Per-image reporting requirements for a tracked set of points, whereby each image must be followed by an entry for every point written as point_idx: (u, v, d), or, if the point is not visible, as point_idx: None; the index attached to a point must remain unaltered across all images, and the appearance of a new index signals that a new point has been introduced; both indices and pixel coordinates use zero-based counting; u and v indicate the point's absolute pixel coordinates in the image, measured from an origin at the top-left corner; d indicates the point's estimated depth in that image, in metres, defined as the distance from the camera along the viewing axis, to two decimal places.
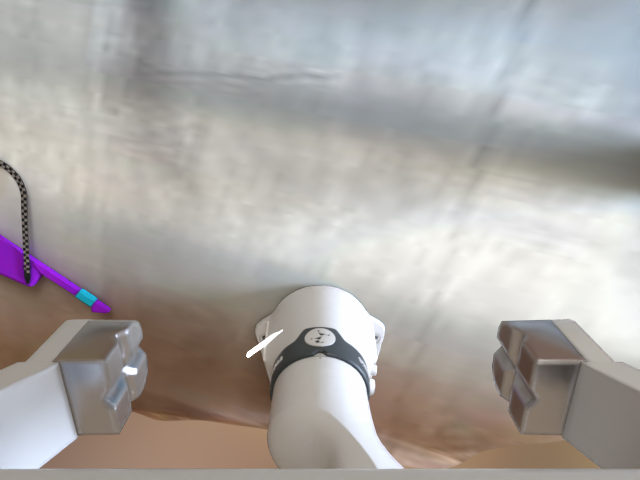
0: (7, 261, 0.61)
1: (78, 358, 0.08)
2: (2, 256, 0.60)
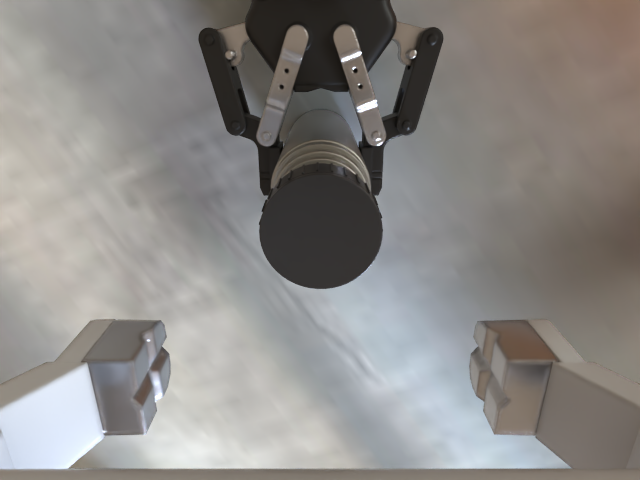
0: None
1: (106, 358, 0.08)
2: None
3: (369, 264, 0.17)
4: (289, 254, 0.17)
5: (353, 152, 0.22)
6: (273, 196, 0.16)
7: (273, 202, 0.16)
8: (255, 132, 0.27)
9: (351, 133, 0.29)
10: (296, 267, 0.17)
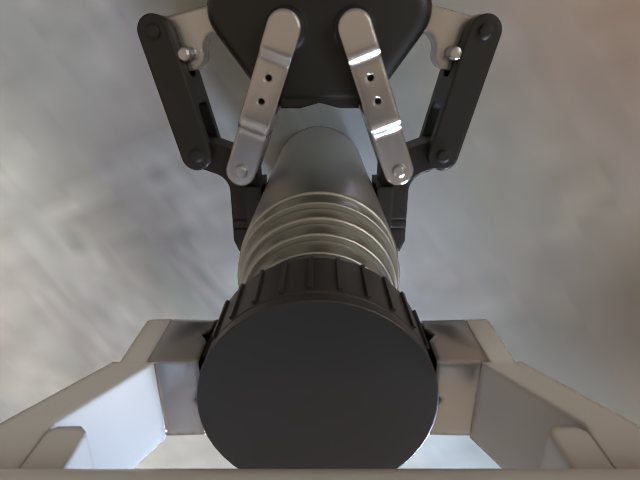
0: None
1: (172, 358, 0.08)
2: None
3: (410, 455, 0.09)
4: (256, 438, 0.09)
5: (371, 211, 0.13)
6: (221, 339, 0.08)
7: (222, 350, 0.08)
8: (225, 165, 0.19)
9: (361, 163, 0.21)
10: (270, 459, 0.09)
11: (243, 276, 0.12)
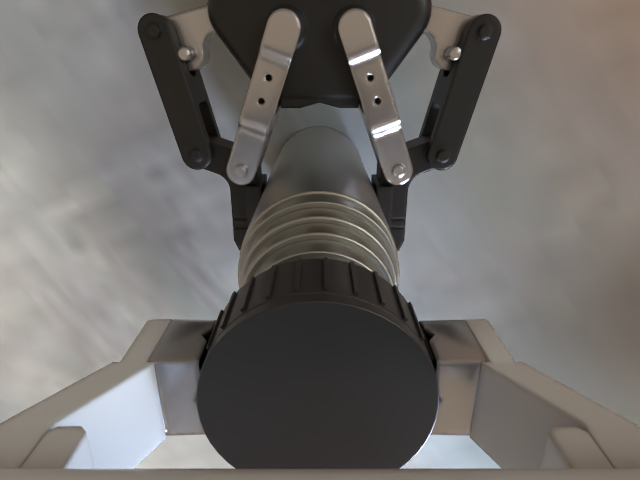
0: None
1: (172, 358, 0.08)
2: None
3: (395, 327, 0.08)
4: (354, 457, 0.09)
5: (371, 211, 0.13)
6: None
7: None
8: (226, 164, 0.19)
9: (361, 163, 0.21)
10: (383, 448, 0.09)
11: (243, 275, 0.12)
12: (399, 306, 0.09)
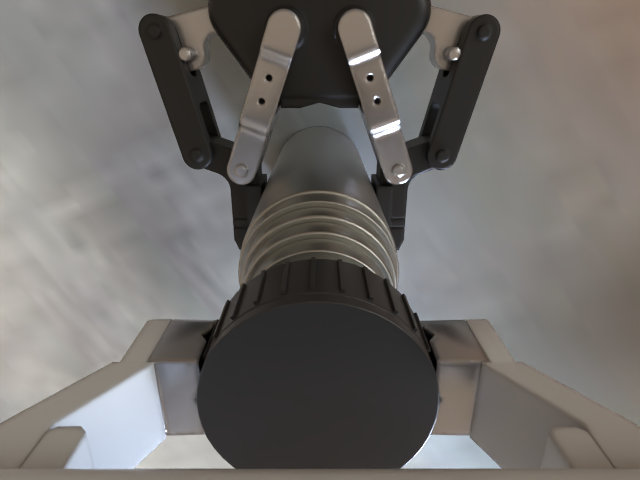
0: None
1: (172, 358, 0.08)
2: None
3: (223, 342, 0.08)
4: (388, 380, 0.08)
5: (370, 210, 0.13)
6: None
7: (393, 465, 0.09)
8: (226, 164, 0.19)
9: (361, 163, 0.21)
10: (380, 354, 0.08)
11: (244, 274, 0.13)
12: (235, 307, 0.09)
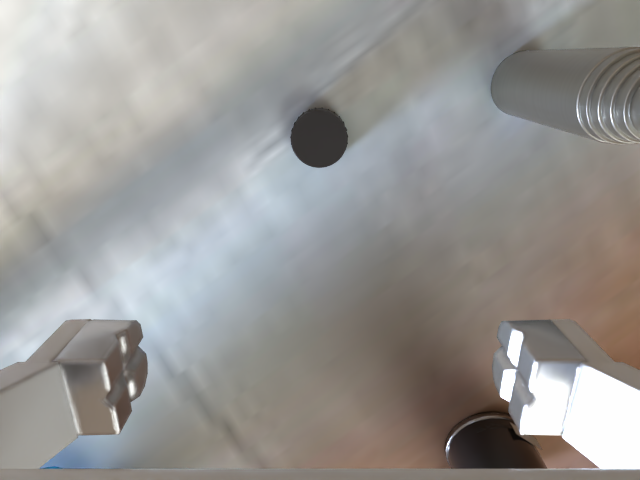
0: None
1: (78, 358, 0.08)
2: None
3: (341, 122, 0.36)
4: (323, 156, 0.37)
5: None
6: (295, 153, 0.37)
7: (298, 154, 0.37)
8: None
9: None
10: (331, 156, 0.37)
11: None
12: (343, 122, 0.37)
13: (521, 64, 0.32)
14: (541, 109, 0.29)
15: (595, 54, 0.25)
